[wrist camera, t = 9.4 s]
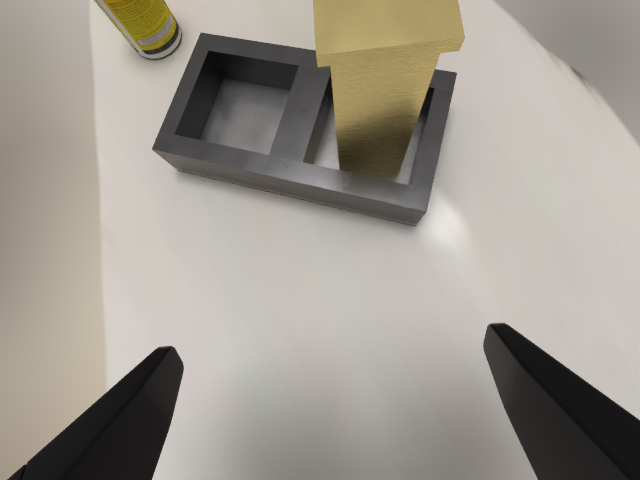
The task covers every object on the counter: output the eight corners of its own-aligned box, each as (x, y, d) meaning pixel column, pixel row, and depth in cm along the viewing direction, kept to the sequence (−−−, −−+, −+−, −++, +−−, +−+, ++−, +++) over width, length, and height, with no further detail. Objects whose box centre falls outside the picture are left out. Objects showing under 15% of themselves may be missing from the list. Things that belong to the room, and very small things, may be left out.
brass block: (406, 178, 24) (464, 37, 11) (334, 184, 24) (316, 55, 12) (398, 114, 25) (443, -74, 13) (330, 121, 25) (310, -54, 13)
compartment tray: (415, 226, 23) (426, 211, 20) (177, 170, 26) (151, 149, 23) (442, 104, 25) (456, 72, 22) (218, 66, 28) (200, 32, 25)
